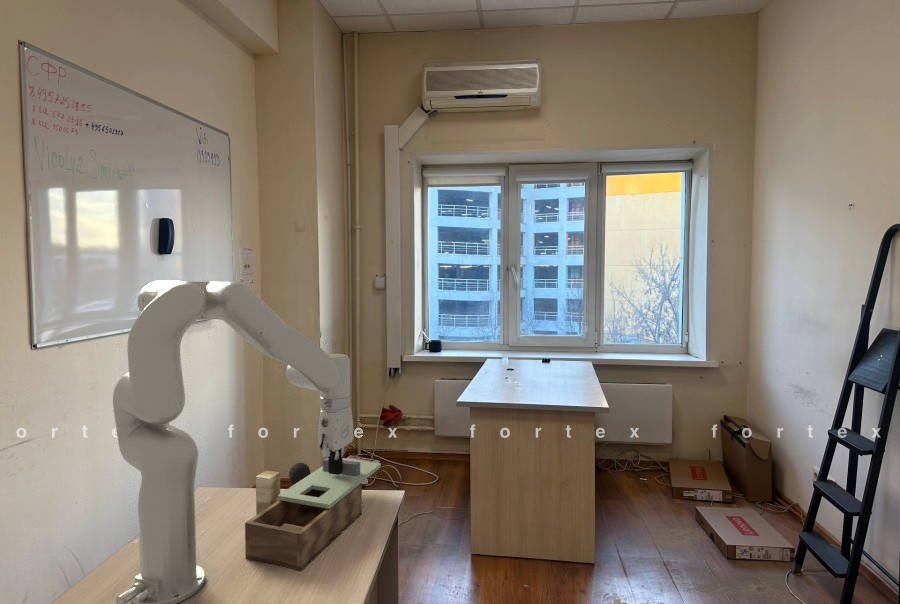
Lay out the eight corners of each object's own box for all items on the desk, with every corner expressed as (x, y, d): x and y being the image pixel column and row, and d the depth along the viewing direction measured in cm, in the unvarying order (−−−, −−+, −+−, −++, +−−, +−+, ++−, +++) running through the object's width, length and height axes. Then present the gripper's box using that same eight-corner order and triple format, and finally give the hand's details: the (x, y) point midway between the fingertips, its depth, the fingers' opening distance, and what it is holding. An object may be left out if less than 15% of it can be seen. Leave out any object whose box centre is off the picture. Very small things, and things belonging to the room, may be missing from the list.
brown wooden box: (301, 571, 103) (300, 534, 103) (245, 558, 108) (245, 522, 107) (361, 514, 128) (361, 483, 127) (314, 505, 132) (314, 476, 132)
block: (270, 527, 121) (269, 478, 121) (256, 524, 122) (255, 476, 122) (280, 519, 125) (280, 472, 124) (267, 516, 126) (266, 470, 126)
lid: (329, 509, 113) (329, 491, 113) (277, 499, 118) (277, 483, 117) (380, 467, 138) (380, 452, 138) (336, 460, 142) (336, 446, 142)
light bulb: (298, 505, 132) (298, 468, 132) (284, 500, 135) (284, 464, 135) (314, 497, 137) (314, 462, 136) (300, 492, 140) (300, 458, 139)
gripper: (332, 411, 119) (332, 486, 120) (362, 397, 133) (362, 464, 134) (305, 408, 122) (305, 482, 123) (337, 394, 136) (338, 460, 137)
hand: (335, 472), depth 129 cm, fingers closed
